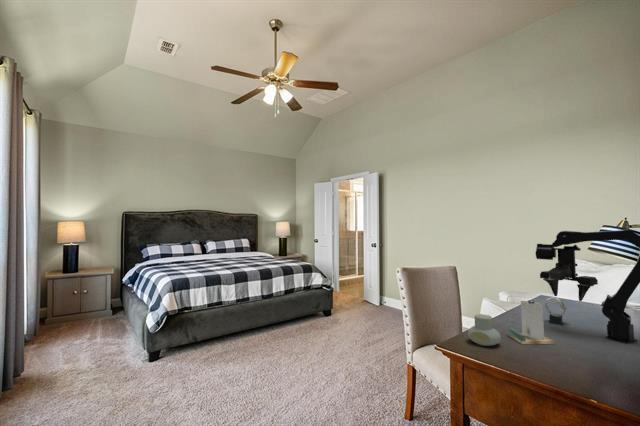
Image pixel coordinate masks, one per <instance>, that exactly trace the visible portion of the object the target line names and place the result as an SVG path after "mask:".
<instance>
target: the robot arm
mask: <svg viewBox="0 0 640 426" xmlns="http://www.w3.org/2000/svg"><path fill="white" fill-rule="evenodd" d="M555 236H556V237H555V238H556V239H555V240H554V241H553V242H552V244H549V243H547V244H546V243H536V248H535V249H536V250H535V258H536V260H550V261H553V260H554V259H555V258H557V262H556V263H555V266H554V267H553V268H551V269H550V270H544V271H541V272H540V273H539V279H543V281H545V282H546V283H547V284H548V285H549V287H550V289H551V291H552V294H553V296H554V297H557V296H558V293H559V281H565V280H566V281H571V282H577V283H578V284H576V286H577V288H578V301H579V302H583V300H584V298H585V297H586V294H587V292H588V291H589V290H590V289H591V287H594V286H595V285H599V283H598V282H599V281H598V279H597V277H595V276H589V275H581V276H578V273H577V269H576V268H577V267H578V263H576V251H578V252H579V251H581V250H582V248H580V247H579V246H578V245H577V244H579V243H584V242H599V241H603V242H604V241H622V240H623V241H625V240H626V241H627V242H629V243H630V244H632V245H634V246H636V247H637V248H639V249H640V235H639V234H638V233H636V232H635V231H633V230H632V229H627V228H626V229H619V230H604V231H603V230H602V231H589V232H588V231H587V232H586V231H571V230H562V231H560V232H558V233H557V234H556V235H555ZM572 244H573V245H572ZM562 245H563V247H561V246H562ZM639 285H640V254H638V258H637V261H636V263H635V265H634V266H633V267H632V269H631V270H630V272H629V274H628V275H627V276H626V278H625V279H624V281H623V282H622V284H621V285H620V286H619V288H618V289H617V291H616V292H615V293H614V294H613V295H612V296H611V295H610V294H607V295H606V298H605V300H604V301H601V305H600V306H601V307H602V308H601V313H602V314H603V316H604V317H606V318H607V319H608V320H607V324H606V333H607V335H606V336H605V337H606V339H611V340H615V341H618V342H622V343H626V344H630V343H634V342H637V341H638V339H636V338H635V329H634V327H635V326H634V324H633V323H631V322H632V316H631V315H629V314H628V313H627V312H626V311H625V309H626V306H627V304H628V300H629V299H630V297H631V296H632V295H633V293H634V292H635V290H637V287H639Z"/></svg>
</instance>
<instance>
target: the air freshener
mask: <svg viewBox="0 0 640 426" xmlns="http://www.w3.org/2000/svg"><path fill="white" fill-rule="evenodd" d="M493 326H494V325H493V317H492V316H491V315H489V314H482V313H477V314H475V315H474V325H472V327H470V328H468V330H467V336H468V338H469V339H470V340H471V341H472V342H474V343H476V344H477V345H479V346H483V347H493V346H495V345H497V344H499V343H500V342H501V340H502V336H501V334H500V332H499V330H497V329H495V328H494V327H493Z"/></svg>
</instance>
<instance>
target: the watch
mask: <svg viewBox="0 0 640 426" xmlns="http://www.w3.org/2000/svg"><path fill="white" fill-rule="evenodd" d="M549 300H556V302H557V305H558V306H559V307H560V308H561V309H562V310H563V313H561V314H557V313H553V312H552V311H551V310H550V308H549V306H548V304H547V301H549ZM544 308H545V310H546V312H547V313H548V314H549V316H548V317H549V324H553V325H560V326H562V325H563V322H564V321H563V320H564V319H563V316H564V315H565V313H566V312H567V310H568V308H567V306H566V304H565V303H564V301H563V300H562V299H561V298H558V297H557V296H554V297H553V296H552V297H549V298H547V299H546V300H545V302H544Z"/></svg>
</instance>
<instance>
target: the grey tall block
mask: <svg viewBox="0 0 640 426" xmlns="http://www.w3.org/2000/svg"><path fill="white" fill-rule="evenodd" d="M543 308H544V307H543V303H541V302H538V301H535V300H520V315H521V333H522V334H523V335H525V336H526V337H527V338H529V339H544V336H545V330H544V329H545V327H544V326H545V325H544V311H543V310H544V309H543Z"/></svg>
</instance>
